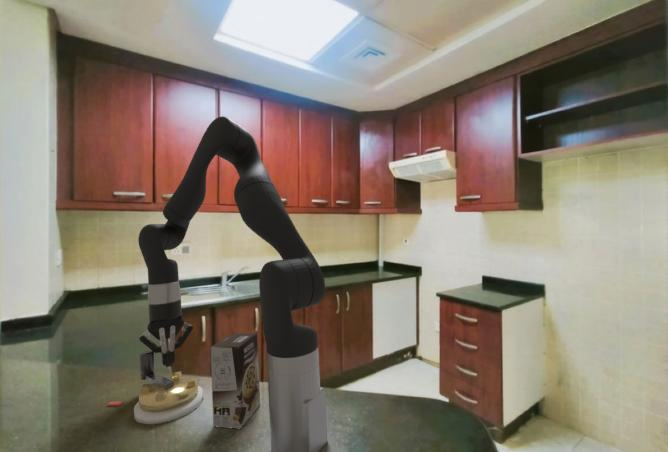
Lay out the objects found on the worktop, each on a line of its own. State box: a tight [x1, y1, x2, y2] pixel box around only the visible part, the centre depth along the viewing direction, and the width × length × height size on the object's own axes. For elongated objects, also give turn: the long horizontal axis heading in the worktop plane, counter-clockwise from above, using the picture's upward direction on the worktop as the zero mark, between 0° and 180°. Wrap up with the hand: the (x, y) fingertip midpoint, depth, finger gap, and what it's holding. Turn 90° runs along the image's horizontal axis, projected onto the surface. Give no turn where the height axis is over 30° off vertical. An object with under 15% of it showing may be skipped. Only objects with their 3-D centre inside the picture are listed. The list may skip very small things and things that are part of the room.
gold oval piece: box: [138, 350, 199, 412], centre depth 73 cm, size 18×12×8 cm, turn 54°
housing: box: [133, 385, 204, 425], centre depth 71 cm, size 14×14×2 cm
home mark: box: [106, 401, 124, 407], centre depth 73 cm, size 3×1×1 cm, turn 83°
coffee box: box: [210, 332, 261, 429], centre depth 66 cm, size 9×6×16 cm
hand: (168, 365), depth 81 cm, fingers closed
